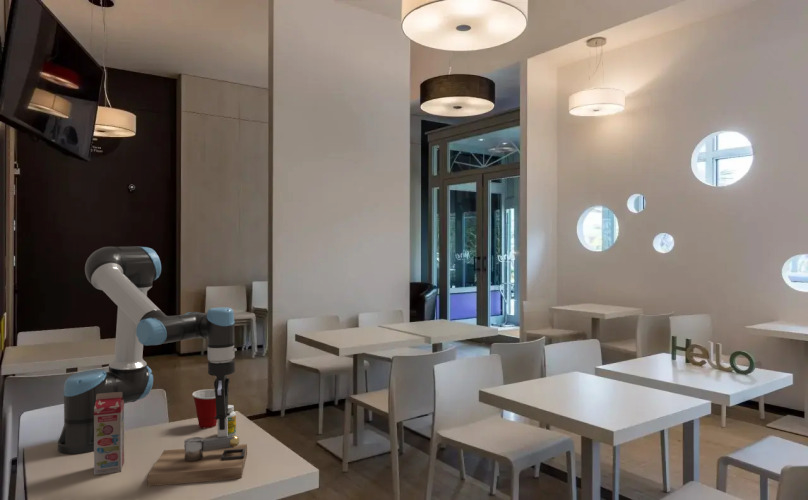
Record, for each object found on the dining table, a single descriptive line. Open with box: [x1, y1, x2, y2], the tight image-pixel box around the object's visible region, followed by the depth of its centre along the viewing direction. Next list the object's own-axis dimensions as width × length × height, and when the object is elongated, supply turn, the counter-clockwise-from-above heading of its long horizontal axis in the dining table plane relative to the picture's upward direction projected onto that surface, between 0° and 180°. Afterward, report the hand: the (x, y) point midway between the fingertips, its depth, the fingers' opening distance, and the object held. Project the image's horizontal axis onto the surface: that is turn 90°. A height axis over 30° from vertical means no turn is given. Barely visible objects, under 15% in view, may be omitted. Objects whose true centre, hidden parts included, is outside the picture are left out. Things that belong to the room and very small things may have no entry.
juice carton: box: [93, 392, 125, 476], centre depth 153 cm, size 7×7×22 cm
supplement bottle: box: [227, 404, 237, 436], centre depth 182 cm, size 5×5×10 cm
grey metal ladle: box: [183, 435, 240, 461], centre depth 155 cm, size 15×5×5 cm, turn 113°
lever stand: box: [147, 443, 248, 487], centre depth 153 cm, size 18×24×4 cm
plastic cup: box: [192, 389, 217, 429], centre depth 191 cm, size 11×11×12 cm
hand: (222, 439), depth 157 cm, fingers closed
